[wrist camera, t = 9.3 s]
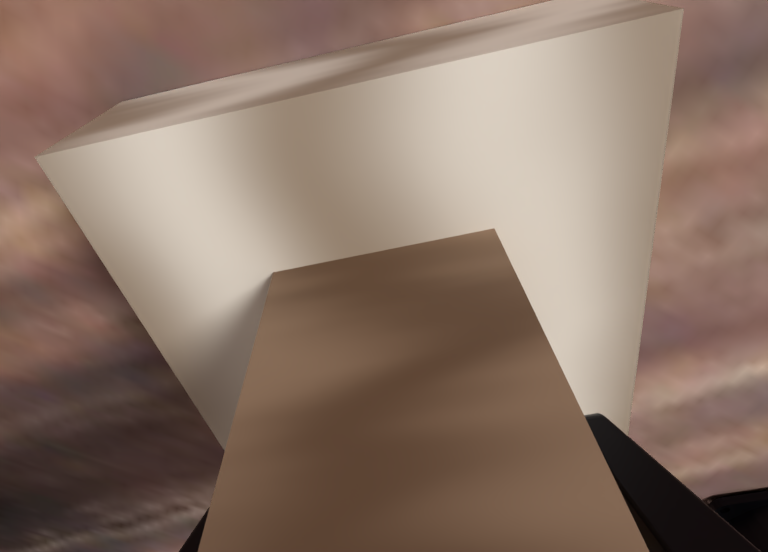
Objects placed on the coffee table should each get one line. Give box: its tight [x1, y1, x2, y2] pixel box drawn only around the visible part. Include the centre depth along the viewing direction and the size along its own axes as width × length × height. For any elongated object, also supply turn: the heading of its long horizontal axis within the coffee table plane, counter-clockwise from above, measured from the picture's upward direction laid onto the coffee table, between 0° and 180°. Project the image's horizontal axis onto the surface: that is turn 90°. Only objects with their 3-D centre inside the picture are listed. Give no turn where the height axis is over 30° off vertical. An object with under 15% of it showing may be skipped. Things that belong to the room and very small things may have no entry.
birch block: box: [35, 0, 684, 451], centre depth 14 cm, size 12×12×4 cm
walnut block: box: [198, 228, 649, 552], centre depth 9 cm, size 5×5×7 cm
